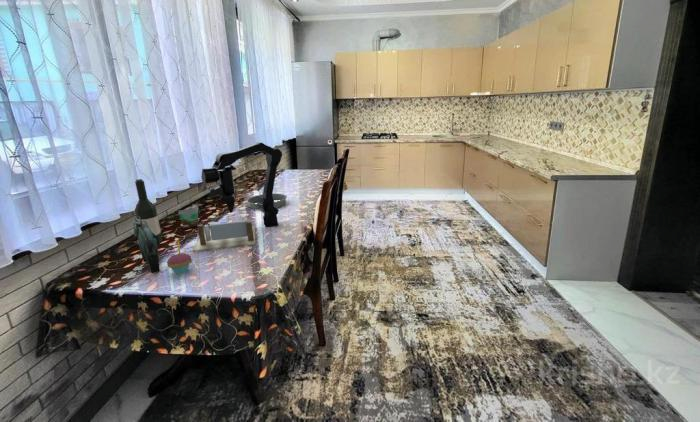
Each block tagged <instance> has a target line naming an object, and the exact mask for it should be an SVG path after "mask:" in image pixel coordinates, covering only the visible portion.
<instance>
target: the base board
mask: <svg viewBox="0 0 700 422" xmlns="http://www.w3.org/2000/svg"><path fill="white" fill-rule="evenodd" d="M252 229H253V237H254V241H248V236H246V237H238V238H229V239H221V240H213V241H212V237H211V241H206V245H201V244H200V239H199V237H198V238H197V240H196V242H195V244H194V246H193V248H192V252H193V253H201V252H206V251H214V250H224V249H231V248H239V247H246V246H255V245H256V235H257V234H256V231H257V230H256V225H252ZM204 234H205V231H204ZM210 236H211V231H210ZM205 240H206V235H205Z"/></svg>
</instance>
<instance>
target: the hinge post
mask: <svg viewBox="0 0 700 422" xmlns="http://www.w3.org/2000/svg"><path fill="white" fill-rule="evenodd" d="M196 227H197V232H198V238H199V239H200V244H201V245H206V240H205V234H204V232H205V230H204V224H203V223H202V224H201V223H200V224H198V225H197V226H196Z"/></svg>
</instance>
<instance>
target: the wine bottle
mask: <svg viewBox="0 0 700 422" xmlns="http://www.w3.org/2000/svg"><path fill="white" fill-rule="evenodd" d="M134 183H135V188H136V192H137V197H138V202H137V204H136V206H135V208H134V211H135V213H134V214H135V217H136V219H137V220H139V221H140V219H139V216H140V217H141V221H143V220H145V221H146V222H147V224H148V226H149V228H150V230H151V231H152V232H153V233H154V234H155V237H156V240H157V245H158V244H160V243H162V242H163V237H162V231H161V226H160V221H159V217H158V211H157V208H156V206H155V205H154V204H153V203H152V202H151V201H150V200H149V199H148V194H147V190H146V185H145V184H146V183H145V181H144V180H143V179H142V178H137V179H135V181H134Z"/></svg>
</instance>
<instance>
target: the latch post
mask: <svg viewBox="0 0 700 422" xmlns="http://www.w3.org/2000/svg"><path fill="white" fill-rule="evenodd" d="M245 221H246V222H245V223H246V228H247V236H248V241H254V237H253V229H252V226H253V223H252V222H253V221H252V219H248V220H245Z"/></svg>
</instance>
